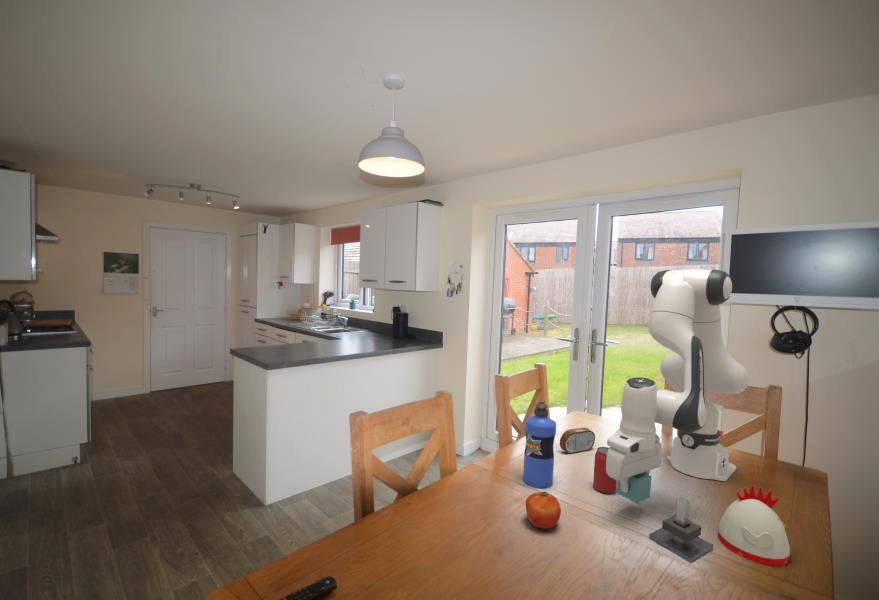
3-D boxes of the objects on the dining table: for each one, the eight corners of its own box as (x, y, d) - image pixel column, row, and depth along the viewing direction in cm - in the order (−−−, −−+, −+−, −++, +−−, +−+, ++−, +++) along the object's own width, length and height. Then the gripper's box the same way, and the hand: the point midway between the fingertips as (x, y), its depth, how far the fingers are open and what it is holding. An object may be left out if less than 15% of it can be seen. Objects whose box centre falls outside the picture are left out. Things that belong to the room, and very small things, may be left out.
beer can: (618, 496, 121) (620, 456, 121) (594, 492, 123) (597, 453, 122) (613, 485, 128) (615, 447, 127) (591, 482, 129) (593, 445, 128)
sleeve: (629, 487, 117) (631, 467, 116) (649, 497, 111) (651, 476, 111) (616, 492, 113) (617, 471, 113) (636, 503, 108) (637, 481, 108)
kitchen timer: (794, 574, 90) (800, 508, 90) (719, 551, 98) (723, 489, 97) (783, 541, 102) (788, 482, 101) (716, 522, 109) (720, 467, 109)
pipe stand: (671, 526, 107) (674, 485, 106) (713, 548, 98) (716, 504, 98) (648, 538, 101) (651, 494, 101) (690, 562, 93) (694, 515, 92)
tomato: (540, 538, 100) (542, 506, 100) (517, 518, 108) (518, 488, 108) (569, 528, 104) (570, 498, 104) (544, 510, 112) (545, 481, 112)
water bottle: (541, 492, 122) (545, 409, 121) (516, 479, 129) (520, 401, 128) (559, 482, 128) (563, 403, 127) (534, 471, 135) (537, 396, 134)
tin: (589, 447, 157) (590, 425, 157) (596, 450, 154) (597, 428, 154) (558, 452, 151) (559, 430, 150) (564, 456, 148) (565, 433, 148)
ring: (675, 521, 104) (676, 514, 104) (700, 534, 99) (701, 526, 99) (662, 528, 101) (662, 520, 101) (687, 542, 96) (687, 534, 95)
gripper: (648, 428, 120) (645, 475, 120) (603, 440, 109) (599, 491, 110) (670, 436, 114) (666, 484, 115) (624, 449, 104) (620, 502, 104)
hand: (633, 487), depth 112 cm, fingers closed on sleeve, 6 cm apart
